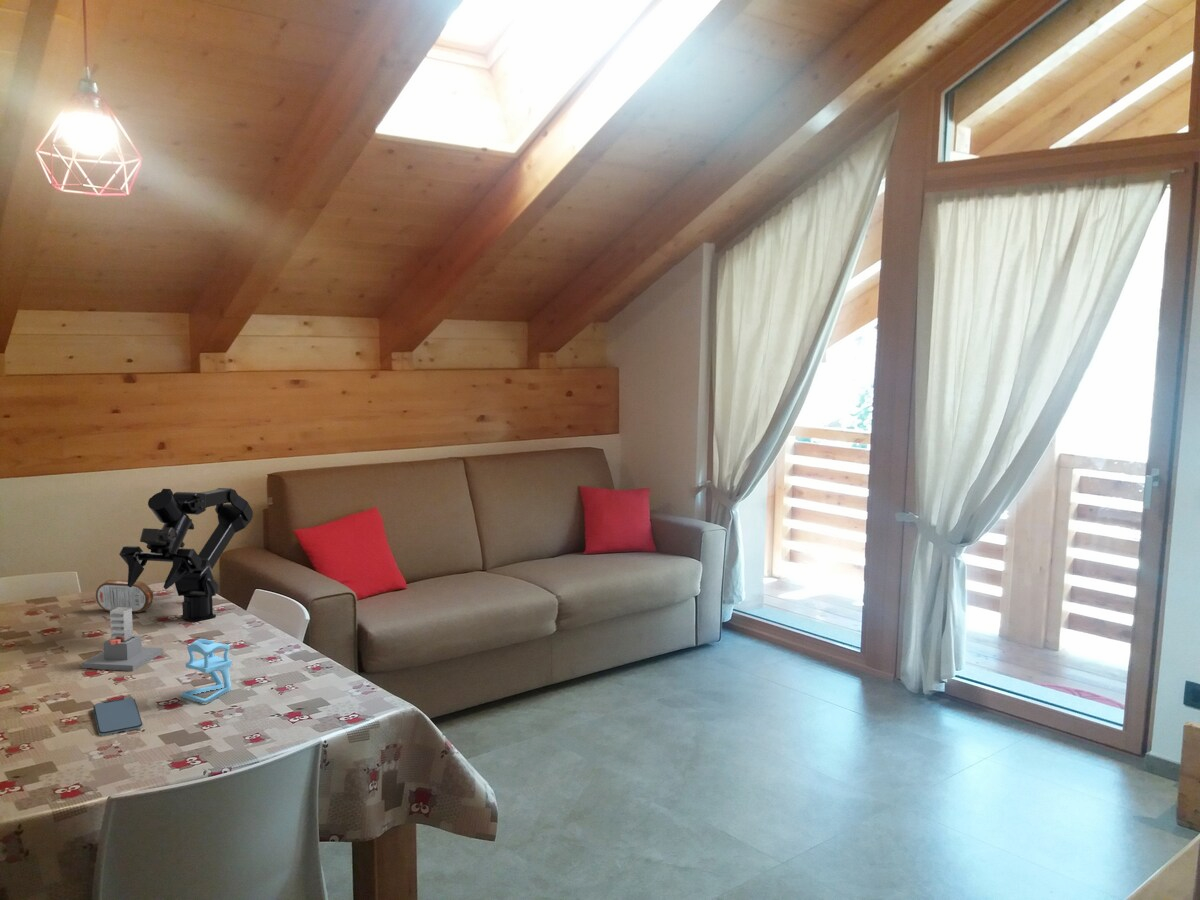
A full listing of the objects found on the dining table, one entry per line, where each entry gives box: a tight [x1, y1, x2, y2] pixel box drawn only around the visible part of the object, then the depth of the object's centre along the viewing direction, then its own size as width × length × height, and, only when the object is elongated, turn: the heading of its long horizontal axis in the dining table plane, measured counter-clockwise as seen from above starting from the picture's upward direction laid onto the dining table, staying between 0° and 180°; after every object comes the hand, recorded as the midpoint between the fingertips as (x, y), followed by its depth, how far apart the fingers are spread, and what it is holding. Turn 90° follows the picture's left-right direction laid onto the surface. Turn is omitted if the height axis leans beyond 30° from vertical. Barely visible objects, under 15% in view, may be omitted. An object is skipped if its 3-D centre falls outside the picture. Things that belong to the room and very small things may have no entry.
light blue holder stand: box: [181, 638, 233, 704], centre depth 194 cm, size 8×8×12 cm
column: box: [109, 607, 134, 642], centre depth 213 cm, size 4×3×10 cm
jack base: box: [81, 635, 164, 672], centre depth 214 cm, size 12×12×6 cm
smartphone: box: [92, 697, 144, 737], centre depth 182 cm, size 8×2×15 cm
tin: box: [95, 579, 154, 613], centre depth 251 cm, size 15×3×8 cm, turn 84°
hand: (147, 587), depth 224 cm, fingers open, 9 cm apart
